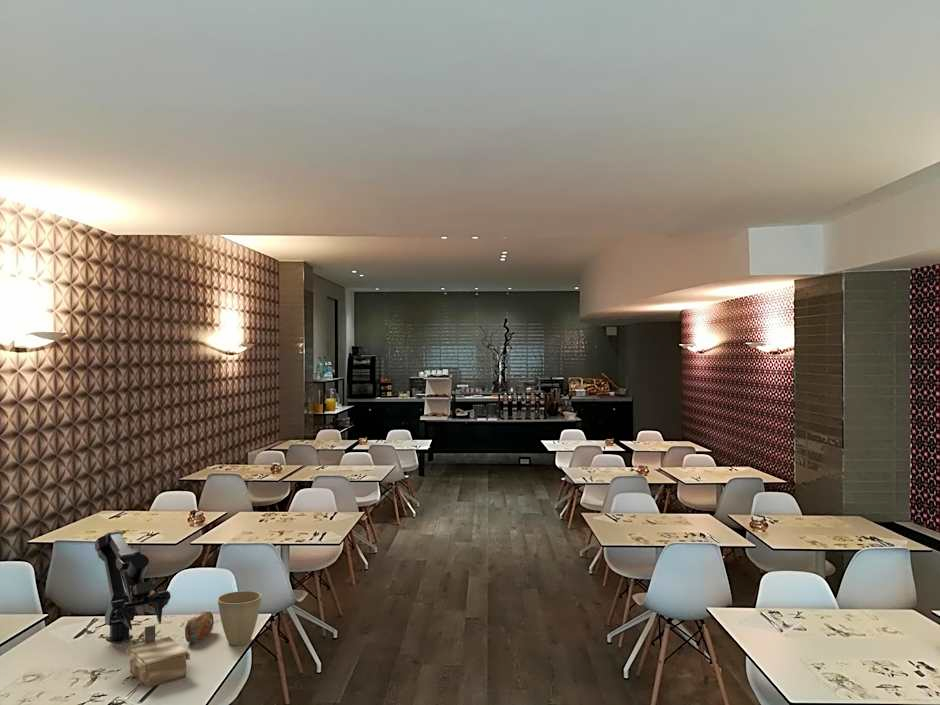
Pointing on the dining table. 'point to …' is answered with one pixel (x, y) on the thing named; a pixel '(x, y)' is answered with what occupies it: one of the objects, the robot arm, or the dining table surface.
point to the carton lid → (154, 650)
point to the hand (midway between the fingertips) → (145, 625)
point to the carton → (160, 671)
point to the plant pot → (239, 615)
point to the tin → (199, 627)
